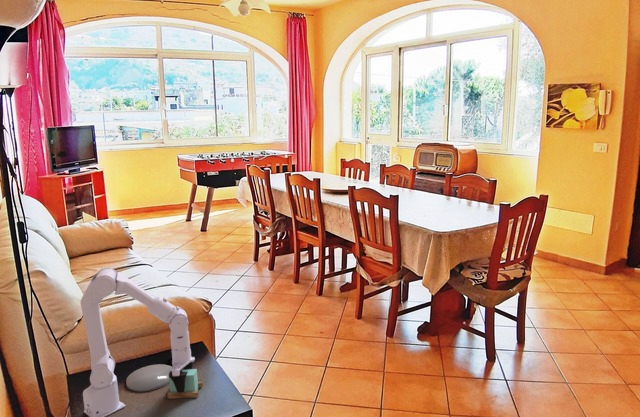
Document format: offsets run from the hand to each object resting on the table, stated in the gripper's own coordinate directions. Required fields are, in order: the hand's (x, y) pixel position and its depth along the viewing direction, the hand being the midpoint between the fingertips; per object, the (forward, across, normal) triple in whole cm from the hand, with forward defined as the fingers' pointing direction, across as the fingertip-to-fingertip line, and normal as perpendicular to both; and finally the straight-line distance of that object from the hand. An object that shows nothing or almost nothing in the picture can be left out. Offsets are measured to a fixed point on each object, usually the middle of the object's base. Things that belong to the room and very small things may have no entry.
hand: (184, 385), depth 150 cm
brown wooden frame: (+2, 0, 0) cm, 2 cm away
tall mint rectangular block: (+2, 0, 0) cm, 2 cm away
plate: (+2, +9, +14) cm, 17 cm away
